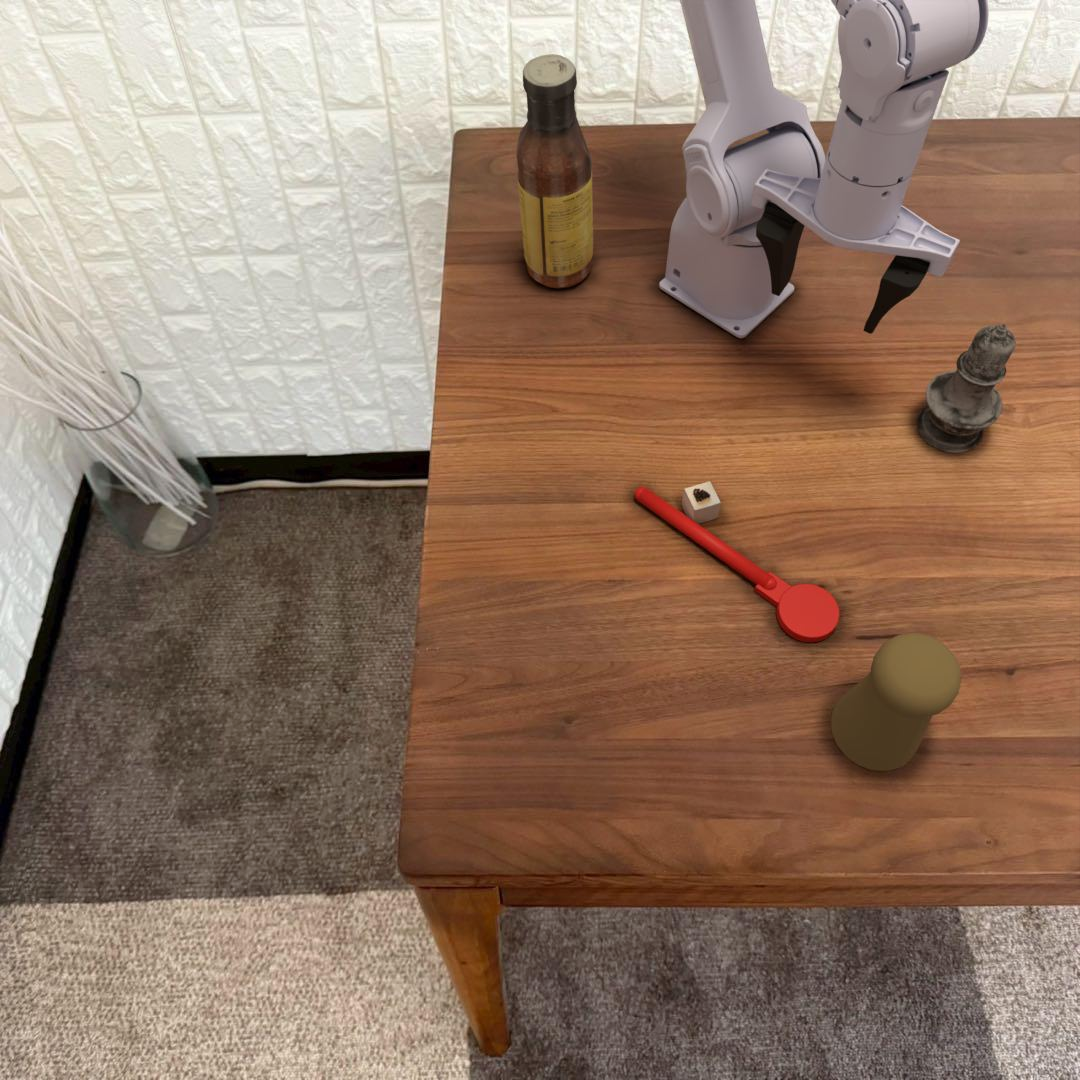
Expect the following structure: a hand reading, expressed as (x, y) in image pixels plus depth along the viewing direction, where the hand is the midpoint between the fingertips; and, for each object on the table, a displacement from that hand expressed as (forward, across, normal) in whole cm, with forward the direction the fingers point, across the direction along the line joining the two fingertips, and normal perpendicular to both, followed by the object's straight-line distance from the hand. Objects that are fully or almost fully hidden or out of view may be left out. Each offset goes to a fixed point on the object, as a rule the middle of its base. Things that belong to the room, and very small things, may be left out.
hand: (825, 305), depth 79 cm
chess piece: (+9, -12, -1) cm, 15 cm away
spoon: (+8, -3, +20) cm, 21 cm away
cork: (+9, -17, +26) cm, 32 cm away
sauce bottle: (+8, +25, 0) cm, 26 cm away
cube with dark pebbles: (+9, +1, +17) cm, 19 cm away
